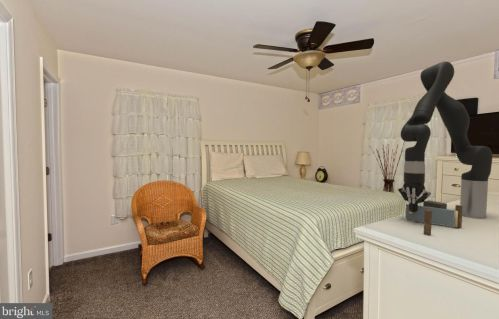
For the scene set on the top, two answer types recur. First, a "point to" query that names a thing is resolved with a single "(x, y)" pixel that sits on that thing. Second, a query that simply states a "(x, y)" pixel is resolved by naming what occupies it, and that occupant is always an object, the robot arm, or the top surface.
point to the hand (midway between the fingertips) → (413, 211)
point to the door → (434, 215)
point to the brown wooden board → (429, 219)
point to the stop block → (435, 204)
